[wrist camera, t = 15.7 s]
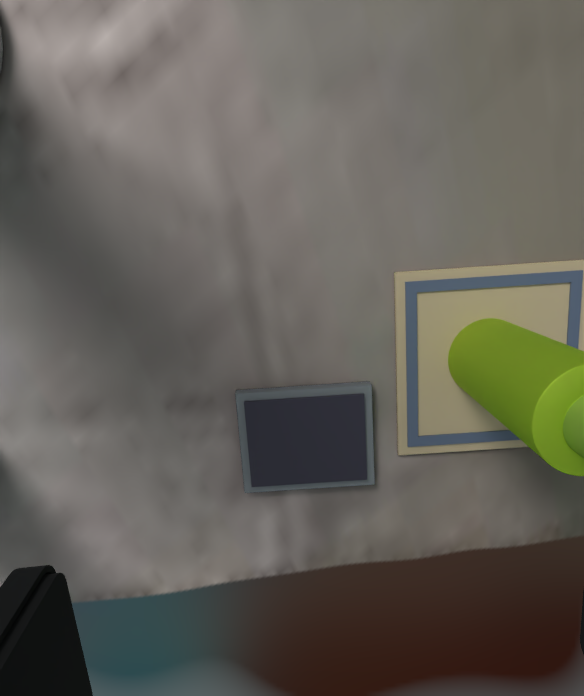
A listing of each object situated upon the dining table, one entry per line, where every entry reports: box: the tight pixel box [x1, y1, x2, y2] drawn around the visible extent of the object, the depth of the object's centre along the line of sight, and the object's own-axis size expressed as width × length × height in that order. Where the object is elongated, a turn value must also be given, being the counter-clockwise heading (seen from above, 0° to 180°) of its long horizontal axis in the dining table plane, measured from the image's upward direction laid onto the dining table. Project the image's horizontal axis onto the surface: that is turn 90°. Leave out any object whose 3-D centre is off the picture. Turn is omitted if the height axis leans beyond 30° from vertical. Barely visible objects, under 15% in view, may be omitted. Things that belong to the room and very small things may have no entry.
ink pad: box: [235, 381, 375, 493], centre depth 38 cm, size 8×10×1 cm
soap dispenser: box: [448, 318, 584, 476], centre depth 28 cm, size 6×7×20 cm
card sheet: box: [394, 260, 584, 455], centre depth 38 cm, size 14×14×1 cm
